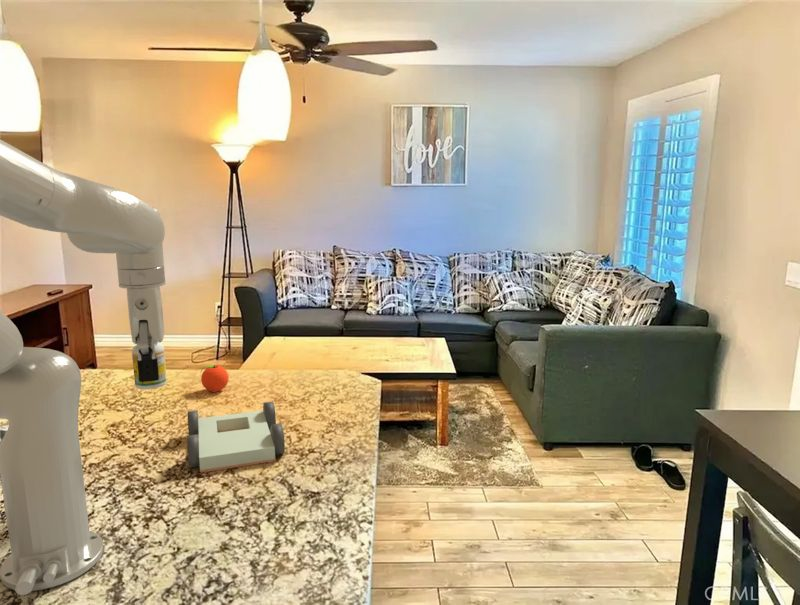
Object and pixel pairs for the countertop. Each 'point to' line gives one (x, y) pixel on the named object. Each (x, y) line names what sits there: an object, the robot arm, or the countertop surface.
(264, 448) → the chassis
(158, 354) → the supplement bottle
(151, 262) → the robot arm
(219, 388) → the tomato
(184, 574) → the countertop surface
